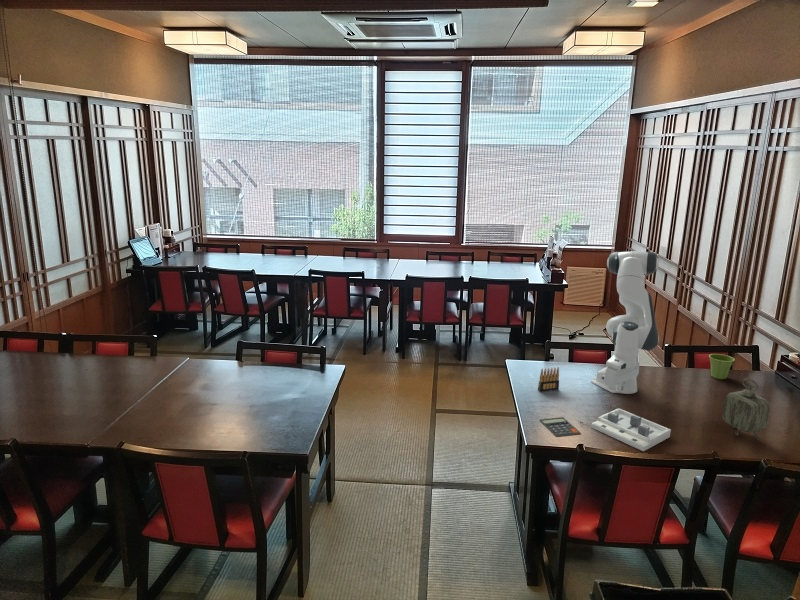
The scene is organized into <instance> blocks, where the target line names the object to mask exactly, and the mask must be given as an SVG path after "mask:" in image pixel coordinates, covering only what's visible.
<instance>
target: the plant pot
mask: <svg viewBox="0 0 800 600" xmlns="http://www.w3.org/2000/svg"><path fill="white" fill-rule="evenodd" d="M708 357H709V361H710V362H709V363H710V376H711V377H712V378H714V379H718V380H726V379H727V377H728V374H729V373H730V369H731V367H732V365H733V362H734V361H735V358H734V357H732V356H730V355H726V354H721V353H711V354H709V355H708Z"/></svg>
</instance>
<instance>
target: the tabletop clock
mask: <svg viewBox="0 0 800 600" xmlns="http://www.w3.org/2000/svg"><path fill="white" fill-rule="evenodd" d="M745 381H749V382H752V383H753V384H755V385H756V388H752V386H751V385H748V386H747V385H746V384H745V383H744V382H745ZM741 382H742V385H743V386H744V387H745V389H743V390H738V391H733V392H729V393H728V394H727V395H726V397H725V398H724V402H723V407H722V412H721V413H722V414H721V415H722V420H723V421H724V422H725V423H727V424H729V425H730V426H731V428H733V429H735V428H736V429H737V430H736V431H735V432H734V435H735V436H737V437H738V436H740V431H742V432H744V433H749V434H753V435H754V439H755V440H757V439H758V440H760V436H759V435H757V432H760V431H764V430H765V429H766V427H767V425H768V422H769V419H770V413H771V411H770V410H771V407H770V402H769V401H768V400H766V399H765V398H763V397H761V396H760V395H758V394H756V392H755V391H758V389H759V384H758V383H757V382H756V381H754V380H753V379H750V378H744V379H743V380H742V381H741Z"/></svg>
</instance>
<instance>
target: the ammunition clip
mask: <svg viewBox="0 0 800 600" xmlns="http://www.w3.org/2000/svg"><path fill="white" fill-rule="evenodd" d="M543 369H544V370H543ZM559 387H560V368H559V366H558V367H557V368H556V367H551V368H549V367H548V369H547V368H546V367H544V368H541V370H540V375H539V381H538V386H537V391H538V392H539V393H541V392H543V393H544V392H549V391H550V390H552V391H559ZM550 392H551V391H550Z"/></svg>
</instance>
